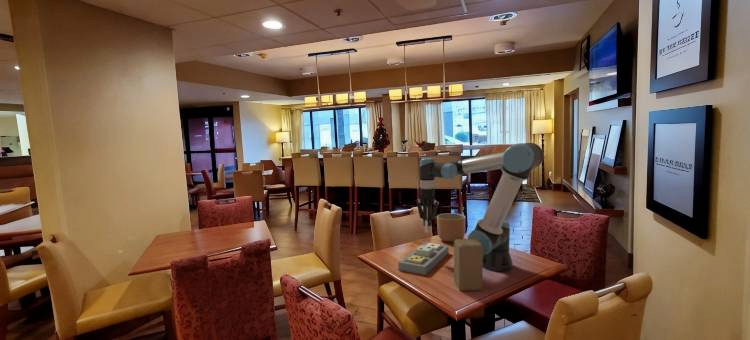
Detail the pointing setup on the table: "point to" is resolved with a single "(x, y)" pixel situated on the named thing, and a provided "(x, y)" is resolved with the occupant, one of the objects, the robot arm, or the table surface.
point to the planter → (451, 227)
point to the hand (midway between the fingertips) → (427, 231)
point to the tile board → (428, 265)
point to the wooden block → (468, 264)
